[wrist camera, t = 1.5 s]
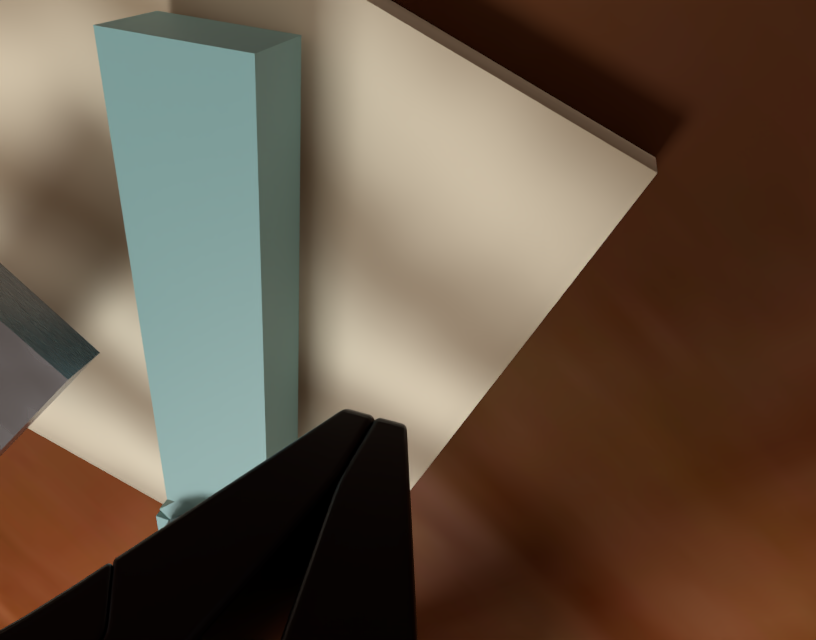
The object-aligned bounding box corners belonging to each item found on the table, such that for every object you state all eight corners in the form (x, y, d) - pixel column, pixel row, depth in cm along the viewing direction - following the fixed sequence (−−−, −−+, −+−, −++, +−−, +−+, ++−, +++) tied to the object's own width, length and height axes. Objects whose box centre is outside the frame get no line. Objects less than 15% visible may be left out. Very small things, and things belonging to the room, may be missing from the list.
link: (309, 559, 28) (284, 611, 26) (198, 523, 28) (165, 571, 26) (324, 39, 16) (280, 58, 14) (136, 6, 17) (70, 21, 15)
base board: (337, 574, 30) (327, 596, 29) (-123, 314, 30) (-149, 328, 29) (655, 157, 17) (657, 172, 16) (-170, -334, 16) (-221, -348, 15)
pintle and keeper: (366, 489, 25) (317, 598, 21) (233, 558, 30) (174, 656, 26) (73, 211, 22) (-48, 278, 18) (-21, 340, 27) (-132, 415, 23)
